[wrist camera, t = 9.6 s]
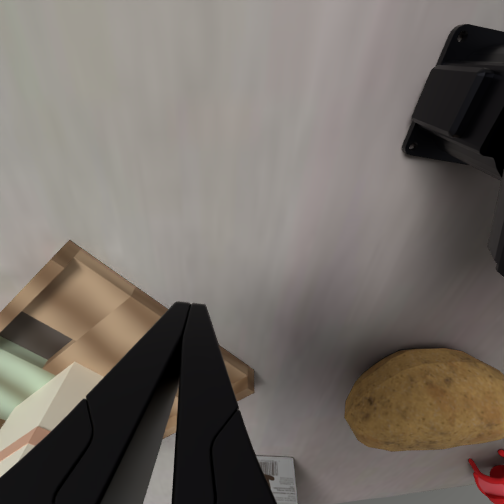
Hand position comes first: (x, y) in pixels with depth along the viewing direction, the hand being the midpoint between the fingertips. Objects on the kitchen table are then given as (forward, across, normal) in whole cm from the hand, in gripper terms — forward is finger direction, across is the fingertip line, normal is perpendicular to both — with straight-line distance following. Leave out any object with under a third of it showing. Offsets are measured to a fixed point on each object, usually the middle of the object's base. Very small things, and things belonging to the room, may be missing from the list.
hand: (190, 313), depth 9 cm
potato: (+13, -20, +17) cm, 29 cm away
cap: (+13, -42, +36) cm, 57 cm away
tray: (+13, +11, +24) cm, 29 cm away
